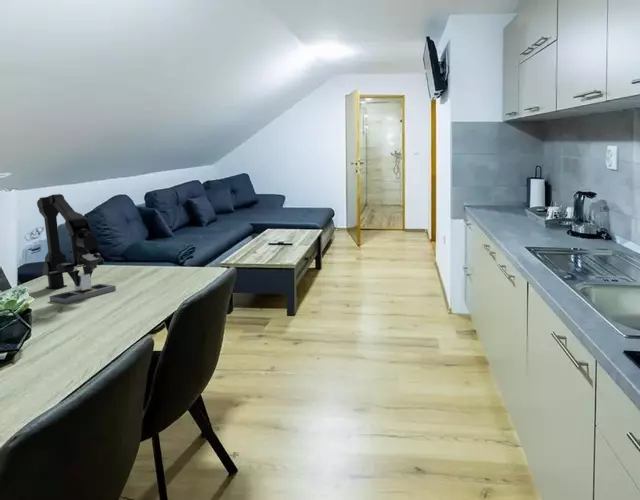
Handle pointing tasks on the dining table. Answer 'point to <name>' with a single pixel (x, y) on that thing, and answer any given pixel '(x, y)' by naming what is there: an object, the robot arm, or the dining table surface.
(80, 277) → the steel block
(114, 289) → the grey slotted frame
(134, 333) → the dining table surface
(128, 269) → the dining table surface
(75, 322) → the dining table surface
